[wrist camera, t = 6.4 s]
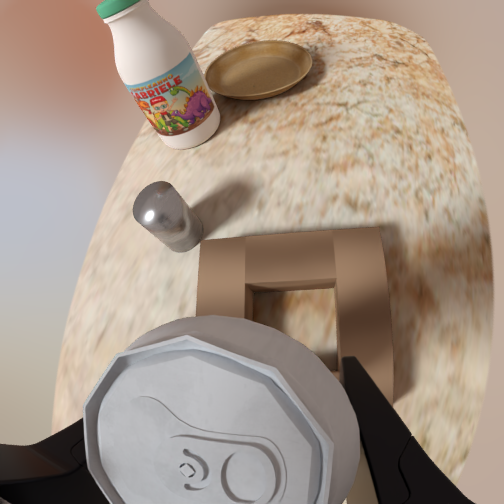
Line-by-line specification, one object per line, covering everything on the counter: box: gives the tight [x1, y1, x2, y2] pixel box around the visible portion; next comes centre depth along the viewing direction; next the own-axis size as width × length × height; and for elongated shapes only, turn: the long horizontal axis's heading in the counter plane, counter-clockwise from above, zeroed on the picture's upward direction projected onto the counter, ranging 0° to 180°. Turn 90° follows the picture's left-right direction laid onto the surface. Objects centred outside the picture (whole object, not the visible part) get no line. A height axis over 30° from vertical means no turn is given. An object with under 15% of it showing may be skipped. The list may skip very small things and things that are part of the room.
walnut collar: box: [196, 227, 394, 407], centre depth 20 cm, size 14×14×3 cm
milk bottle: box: [96, 0, 220, 150], centre depth 23 cm, size 8×8×20 cm
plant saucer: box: [204, 40, 312, 100], centre depth 33 cm, size 15×15×3 cm
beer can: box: [83, 315, 360, 504], centre depth 8 cm, size 5×5×12 cm
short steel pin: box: [133, 181, 203, 252], centre depth 24 cm, size 4×4×6 cm
